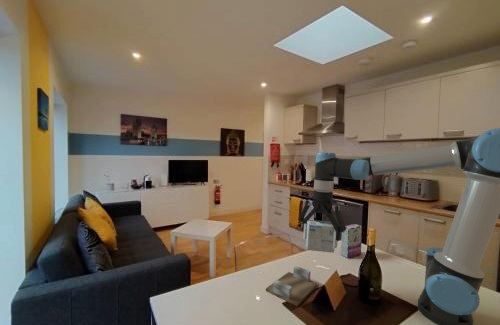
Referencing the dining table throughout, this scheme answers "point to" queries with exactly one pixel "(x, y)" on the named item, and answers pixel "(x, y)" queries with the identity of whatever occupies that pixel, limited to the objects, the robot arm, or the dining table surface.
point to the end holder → (293, 286)
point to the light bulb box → (320, 236)
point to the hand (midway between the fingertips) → (319, 242)
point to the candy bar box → (351, 241)
